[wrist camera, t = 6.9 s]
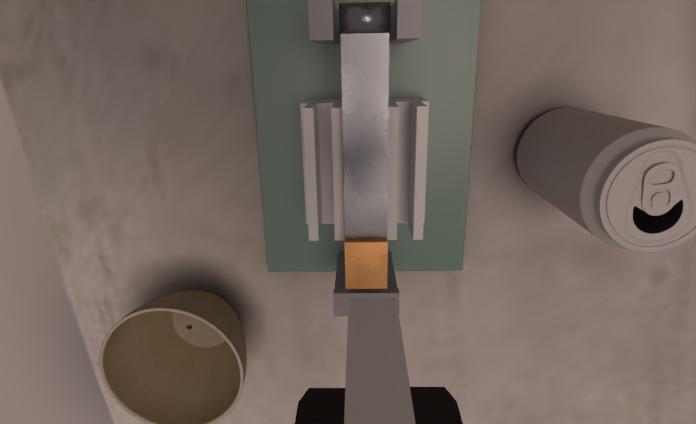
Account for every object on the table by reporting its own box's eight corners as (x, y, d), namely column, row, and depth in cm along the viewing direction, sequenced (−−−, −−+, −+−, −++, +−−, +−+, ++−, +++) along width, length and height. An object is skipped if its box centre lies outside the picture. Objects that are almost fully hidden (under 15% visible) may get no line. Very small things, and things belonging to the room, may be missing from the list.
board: (249, -11, 30) (209, -36, 22) (478, -16, 30) (522, -43, 22) (270, 266, 36) (245, 325, 28) (459, 264, 36) (488, 324, 28)
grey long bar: (339, 4, 24) (338, 0, 22) (389, 3, 24) (391, -1, 22) (345, 275, 29) (344, 288, 27) (386, 275, 29) (388, 288, 27)
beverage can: (514, 199, 34) (592, 269, 23) (510, 113, 32) (593, 143, 21) (601, 186, 34) (725, 251, 23) (603, 98, 32) (739, 121, 21)
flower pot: (251, 256, 36) (227, 302, 30) (273, 362, 39) (255, 425, 33) (129, 269, 37) (78, 317, 30) (160, 372, 40) (121, 436, 33)
